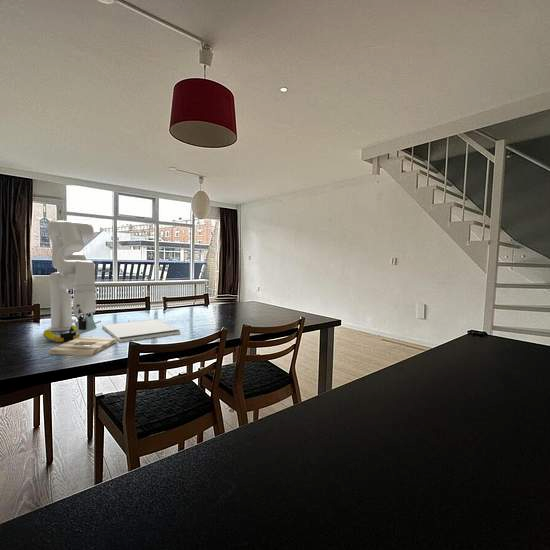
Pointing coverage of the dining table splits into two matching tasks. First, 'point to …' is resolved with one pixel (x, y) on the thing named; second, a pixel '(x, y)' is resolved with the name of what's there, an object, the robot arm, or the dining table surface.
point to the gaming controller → (62, 335)
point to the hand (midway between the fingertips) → (85, 328)
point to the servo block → (89, 325)
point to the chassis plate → (78, 346)
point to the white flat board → (139, 329)
